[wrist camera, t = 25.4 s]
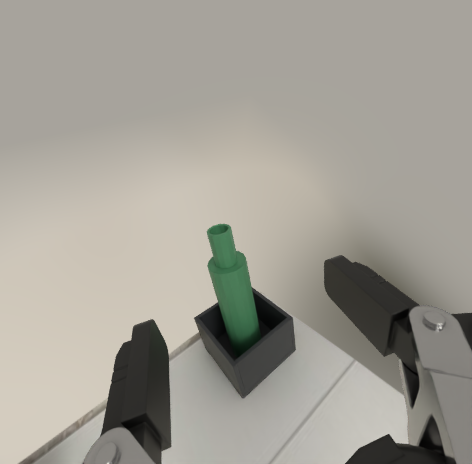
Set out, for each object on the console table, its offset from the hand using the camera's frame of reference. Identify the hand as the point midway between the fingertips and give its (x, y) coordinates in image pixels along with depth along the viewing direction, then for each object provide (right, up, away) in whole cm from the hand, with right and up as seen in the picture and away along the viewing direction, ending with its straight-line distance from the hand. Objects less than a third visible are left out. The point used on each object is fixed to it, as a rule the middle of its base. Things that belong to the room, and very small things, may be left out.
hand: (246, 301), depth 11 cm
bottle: (+2, -16, +30) cm, 34 cm away
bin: (+2, -17, +31) cm, 35 cm away
